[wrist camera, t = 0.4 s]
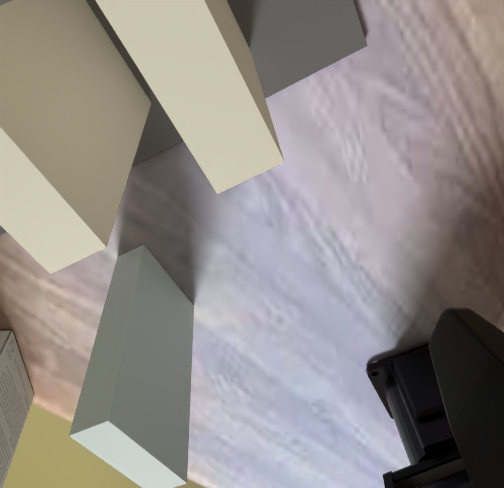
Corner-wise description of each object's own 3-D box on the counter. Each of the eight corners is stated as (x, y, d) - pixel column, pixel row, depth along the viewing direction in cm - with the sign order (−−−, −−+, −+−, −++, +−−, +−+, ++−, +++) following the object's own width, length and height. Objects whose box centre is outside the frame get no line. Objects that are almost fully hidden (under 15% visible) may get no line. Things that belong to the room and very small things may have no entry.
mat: (364, 43, 18) (367, 45, 18) (-95, 281, 23) (-100, 286, 23) (271, -252, 13) (272, -256, 13) (-288, 133, 18) (-297, 137, 18)
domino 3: (143, 244, 23) (108, 420, 15) (193, 306, 26) (186, 483, 18) (117, 256, 23) (68, 435, 15) (170, 316, 26) (152, 494, 18)
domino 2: (70, -25, 16) (-78, 38, 8) (151, 103, 18) (106, 247, 10) (33, -1, 16) (-147, 83, 8) (118, 120, 19) (50, 273, 11)
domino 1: (182, -96, 15) (149, -112, 7) (249, 49, 18) (284, 161, 9) (140, -69, 15) (61, -54, 7) (213, 69, 18) (217, 194, 10)
